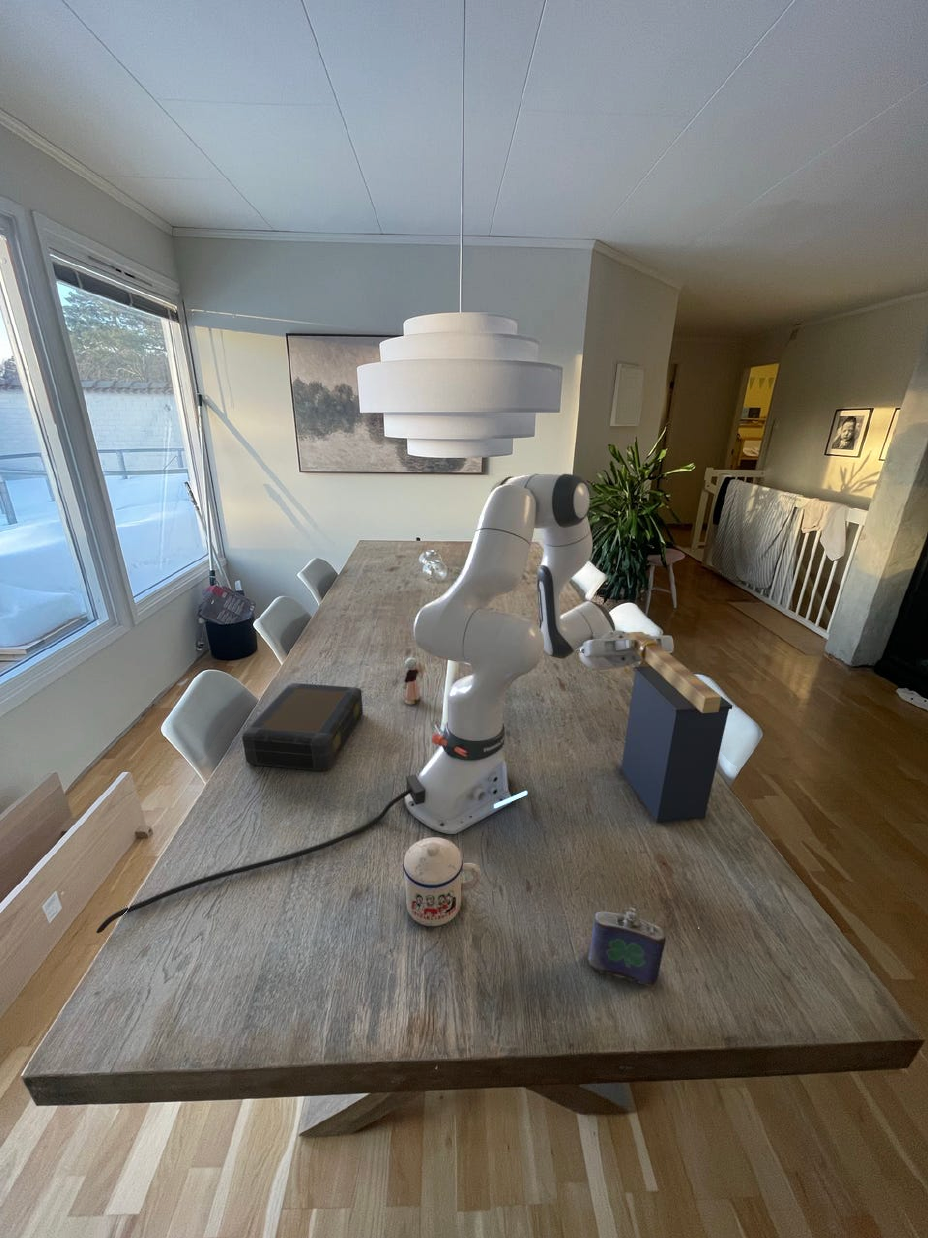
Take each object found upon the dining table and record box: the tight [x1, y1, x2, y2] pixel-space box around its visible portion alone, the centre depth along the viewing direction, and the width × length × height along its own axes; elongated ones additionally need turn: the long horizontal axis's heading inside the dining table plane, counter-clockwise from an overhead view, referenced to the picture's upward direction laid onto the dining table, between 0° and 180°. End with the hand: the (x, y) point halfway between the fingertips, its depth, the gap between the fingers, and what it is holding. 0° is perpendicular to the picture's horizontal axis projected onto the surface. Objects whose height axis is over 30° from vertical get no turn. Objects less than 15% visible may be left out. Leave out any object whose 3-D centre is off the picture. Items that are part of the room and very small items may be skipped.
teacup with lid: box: [402, 836, 482, 927], centre depth 79 cm, size 12×9×12 cm
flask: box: [587, 906, 667, 987], centre depth 70 cm, size 9×3×11 cm, turn 72°
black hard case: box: [241, 682, 364, 772], centre depth 122 cm, size 25×20×8 cm
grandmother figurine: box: [402, 657, 421, 706], centre depth 138 cm, size 8×4×13 cm, turn 169°
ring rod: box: [629, 631, 722, 713], centre depth 101 cm, size 29×4×4 cm, turn 8°
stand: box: [620, 663, 733, 823], centre depth 101 cm, size 17×11×25 cm, turn 8°
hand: (643, 643), depth 110 cm, fingers open, 3 cm apart
